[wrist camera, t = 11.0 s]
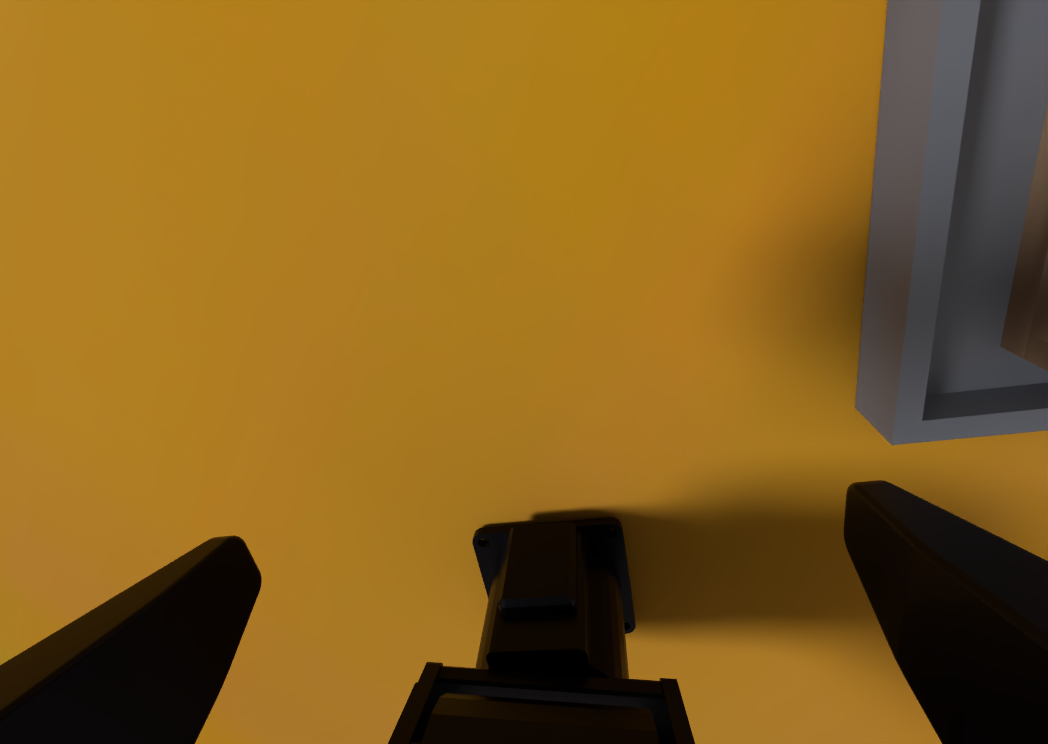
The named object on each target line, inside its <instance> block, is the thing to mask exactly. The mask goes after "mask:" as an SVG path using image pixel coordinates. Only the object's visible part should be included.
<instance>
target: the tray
mask: <svg viewBox="0 0 1048 744" xmlns="http://www.w3.org/2000/svg"><path fill="white" fill-rule="evenodd" d="M1047 104H1048V0H888V3H887V16H886V29H885V41H884V54H883V66H882V79H881V91H880V104H879V116H878V129H877V141H876V154H875V167H874V179H873V192H872V204H871V217H870V229H869V242H868V254H867V267H866V279H865V292H864V304H863V317H862V330H861V342H860V355H859V367H858V380H857V392H856V405H855V408H856V409H857V410H858V411H859V412H860V413H861V414H862V415H863V416H864V417H865V418H866V419H867V420H868V421H869V422H870V423H871V424H872V425H873V426H874V427H875V428H876V429H877V430H878V431H879V432H880V433H881V434H882V435H883V436H884V438H885V439H886V440H887V441H888V442H889V443H890V444H891V445H897V444H908V443H918V442H929V441H939V440H950V439H960V438H971V437H981V436H992V435H1003V434H1013V433H1024V432H1034V431H1045V430H1048V371H1046V370H1044V369H1042V368H1040V367H1038V366H1036V365H1034V364H1033V363H1031V362H1029V361H1027V360H1025V359H1023V358H1021V357H1019V356H1017V355H1015V354H1013V353H1011V352H1010V351H1008V350H1006V349H1004V348H1002V347H1000V344H1001V339H1002V334H1003V328H1004V323H1005V318H1006V313H1007V308H1008V303H1009V298H1010V293H1011V288H1012V283H1013V278H1014V272H1015V267H1016V262H1017V257H1018V252H1019V247H1020V242H1021V237H1022V232H1023V227H1024V221H1025V216H1026V211H1027V206H1028V201H1029V196H1030V191H1031V186H1032V181H1033V176H1034V171H1035V165H1036V160H1037V155H1038V150H1039V145H1040V140H1041V135H1042V130H1043V125H1044V120H1045V115H1046V109H1047Z"/></svg>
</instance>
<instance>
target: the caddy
mask: <svg viewBox="0 0 1048 744" xmlns="http://www.w3.org/2000/svg"><path fill="white" fill-rule="evenodd" d="M1000 347H1002V348H1004V349H1006V350H1008V351H1010V352H1011V353H1013V354H1015V355H1017V356H1019V357H1021V358H1023V359H1025V360H1027V361H1029V362H1031V363H1033V364H1034V365H1036V366H1038V367H1040V368H1042V369H1044V370H1046V371H1048V104H1047V109H1046V115H1045V120H1044V125H1043V130H1042V135H1041V140H1040V145H1039V150H1038V155H1037V160H1036V165H1035V171H1034V176H1033V181H1032V186H1031V191H1030V196H1029V201H1028V206H1027V211H1026V216H1025V221H1024V227H1023V232H1022V237H1021V242H1020V247H1019V252H1018V257H1017V262H1016V267H1015V272H1014V278H1013V283H1012V288H1011V293H1010V298H1009V303H1008V308H1007V313H1006V318H1005V323H1004V328H1003V334H1002V339H1001V344H1000Z"/></svg>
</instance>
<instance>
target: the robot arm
mask: <svg viewBox="0 0 1048 744" xmlns="http://www.w3.org/2000/svg"><path fill="white" fill-rule="evenodd" d="M610 528H611V529H614V531H607V529H610ZM482 538H484V539H487V540H488V541H483V540H482ZM844 540H845V544H846V547H847V550H848V553H849V555H850V557H851V559H852V562H853V564H854V566H855V569H856V571H857V573H858V576H859V578H860V580H861V582H862V585H863V587H864V589H865V592H866V594H867V596H868V598H869V601H870V603H871V605H872V608H873V610H874V612H875V615H876V617H877V619H878V621H879V624H880V626H881V628H882V631H883V633H884V635H885V637H886V640H887V642H888V644H889V646H890V649H891V651H892V653H893V655H894V657H895V659H896V661H897V663H898V665H899V667H900V669H901V671H902V673H903V675H904V677H905V678H906V680H907V682H908V684H909V686H910V688H911V689H912V691H913V693H914V695H915V696H916V698H917V700H918V702H919V703H920V705H921V707H922V709H923V711H924V712H925V714H926V716H927V718H928V719H929V721H930V723H931V725H932V726H933V728H934V730H935V732H936V733H937V735H938V737H939V739H940V741H941V742H942V744H1048V561H1047V560H1044V559H1042V558H1040V557H1038V556H1036V555H1034V554H1032V553H1030V552H1028V551H1026V550H1024V549H1022V548H1020V547H1018V546H1016V545H1014V544H1012V543H1010V542H1008V541H1006V540H1004V539H1002V538H1000V537H998V536H996V535H994V534H992V533H990V532H988V531H986V530H984V529H982V528H980V527H978V526H976V525H974V524H972V523H970V522H968V521H966V520H964V519H962V518H960V517H958V516H956V515H954V514H952V513H950V512H948V511H946V510H944V509H942V508H940V507H938V506H935V505H933V504H931V503H929V502H927V501H925V500H923V499H921V498H919V497H917V496H915V495H913V494H911V493H909V492H907V491H905V490H903V489H901V488H899V487H897V486H895V485H893V484H891V483H889V482H886V481H867V482H856V483H853V484H851V485H850V486H849V487H848V489H847V494H846V506H845V519H844ZM473 546H474V550H475V553H476V557H477V560H478V564H479V567H480V571H481V574H482V578H483V581H484V585H485V588H486V592H487V595H488V599H489V600H488V606H487V611H486V616H485V621H484V626H483V632H482V637H481V642H480V647H479V652H478V658H477V663H476V668H465V667H451V666H443V663H434V662H427V663H426V665H425V668H424V670H423V672H422V674H421V676H420V679H419V681H418V683H417V682H416V683H415V685H414V687H413V689H412V692H411V694H410V696H409V698H408V700H407V703H406V705H405V707H404V709H403V711H402V714H401V716H400V718H399V720H398V722H397V725H396V727H395V729H394V731H393V734H392V736H391V738H390V740H389V742H388V744H695V742H694V738H693V735H692V731H691V728H690V724H689V721H688V717H687V714H686V710H685V707H684V703H683V700H682V696H681V693H680V689H679V686H678V682H677V679H666V678H660V681H652V680H638V679H629V673H628V662H627V651H626V640H625V634H627V633H631V632H632V631H634V629H635V626H636V625H635V616H634V609H633V602H632V594H631V587H630V580H629V573H628V565H627V558H626V551H625V543H624V536H623V529H622V524H621V522H620V521H619V520H618V519H615V518H609V517H608V518H596V519H584V520H571V521H559V522H547V523H534V524H522V525H509V526H497V527H485V528H480V529H478V530H476V531H475V533H474V537H473ZM260 588H261V573H260V571H259V569H258V567H257V565H256V563H255V561H254V559H253V557H252V555H251V553H250V551H249V549H248V547H247V545H246V543H245V542H244V540H243V539H241V538H240V537H238V536H224V537H215V538H212V539H209V540H208V541H206V542H204V543H203V544H201V545H199V546H198V547H196V548H194V549H193V550H191V551H189V552H188V553H186V554H184V555H183V556H181V557H179V558H178V559H176V560H174V561H173V562H171V563H169V564H168V565H166V566H164V567H163V568H161V569H159V570H158V571H156V572H154V573H153V574H151V575H149V576H148V577H146V578H144V579H143V580H141V581H139V582H138V583H136V584H134V585H133V586H131V587H130V588H128V589H126V590H125V591H123V592H121V593H120V594H118V595H116V596H115V597H113V598H111V599H110V600H108V601H106V602H105V603H103V604H101V605H100V606H98V607H96V608H95V609H93V610H91V611H90V612H88V613H86V614H85V615H83V616H81V617H80V618H78V619H76V620H75V621H73V622H71V623H70V624H68V625H66V626H65V627H63V628H61V629H60V630H58V631H56V632H55V633H53V634H51V635H50V636H48V637H47V638H45V639H43V640H42V641H40V642H38V643H37V644H35V645H33V646H32V647H30V648H28V649H27V650H25V651H23V652H22V653H20V654H18V655H17V656H15V657H13V658H12V659H10V660H8V661H7V662H5V663H3V664H2V665H0V744H195V742H196V740H197V738H198V736H199V734H200V732H201V730H202V728H203V726H204V724H205V722H206V720H207V718H208V716H209V714H210V711H211V709H212V707H213V705H214V703H215V701H216V699H217V697H218V695H219V692H220V690H221V688H222V686H223V684H224V681H225V679H226V676H227V674H228V671H229V669H230V666H231V664H232V661H233V659H234V656H235V653H236V651H237V648H238V646H239V643H240V640H241V638H242V635H243V633H244V630H245V627H246V625H247V622H248V620H249V617H250V614H251V612H252V609H253V607H254V604H255V602H256V599H257V596H258V594H259V591H260ZM624 622H625V623H624Z"/></svg>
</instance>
